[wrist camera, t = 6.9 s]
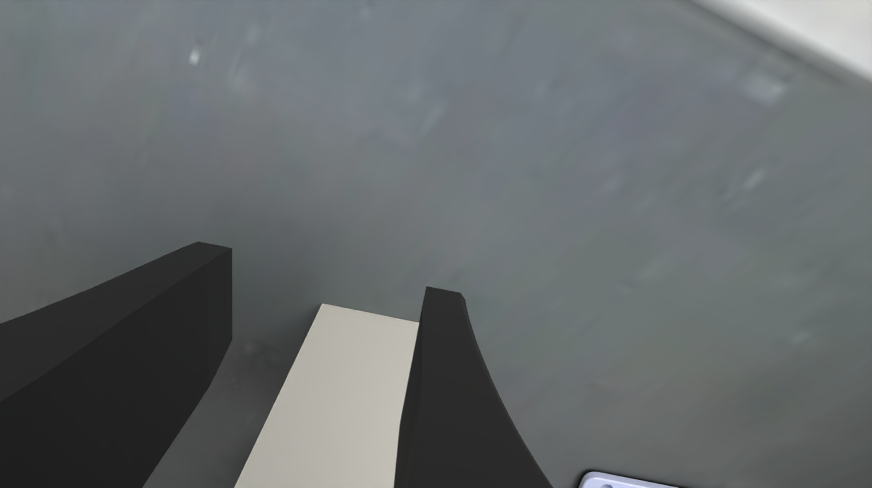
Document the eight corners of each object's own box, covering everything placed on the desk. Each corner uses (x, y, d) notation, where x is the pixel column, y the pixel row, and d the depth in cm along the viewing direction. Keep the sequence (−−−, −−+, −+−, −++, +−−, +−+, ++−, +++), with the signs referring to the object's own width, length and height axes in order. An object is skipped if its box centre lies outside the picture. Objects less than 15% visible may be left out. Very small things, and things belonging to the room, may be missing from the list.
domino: (432, 325, 23) (397, 535, 15) (426, 356, 23) (388, 572, 15) (322, 303, 23) (227, 501, 15) (319, 335, 23) (227, 540, 15)
